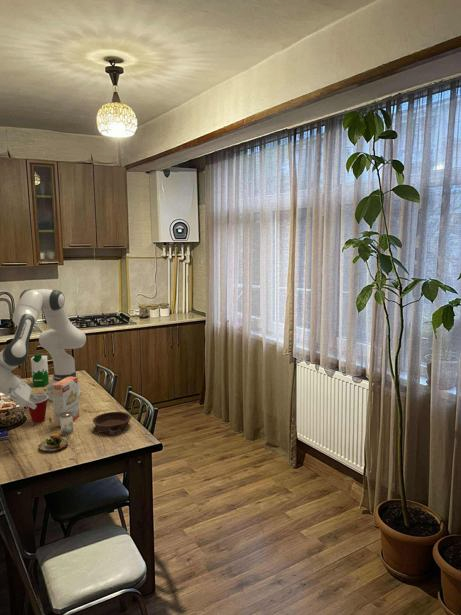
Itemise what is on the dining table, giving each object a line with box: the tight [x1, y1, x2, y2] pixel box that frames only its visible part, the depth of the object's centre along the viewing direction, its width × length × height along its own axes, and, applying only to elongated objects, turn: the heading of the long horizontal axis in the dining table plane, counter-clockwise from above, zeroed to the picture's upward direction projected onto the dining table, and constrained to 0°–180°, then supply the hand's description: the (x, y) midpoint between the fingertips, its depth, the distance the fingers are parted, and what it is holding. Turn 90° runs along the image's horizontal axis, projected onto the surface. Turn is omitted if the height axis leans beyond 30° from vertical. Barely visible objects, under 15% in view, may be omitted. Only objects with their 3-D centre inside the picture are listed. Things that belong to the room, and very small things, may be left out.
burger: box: [38, 432, 69, 452], centre depth 197 cm, size 12×12×8 cm
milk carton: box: [30, 353, 50, 388], centre depth 283 cm, size 9×9×20 cm
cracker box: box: [52, 376, 80, 428], centre depth 224 cm, size 14×6×21 cm, turn 168°
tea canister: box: [60, 412, 74, 436], centre depth 212 cm, size 6×6×9 cm
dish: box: [92, 411, 132, 435], centre depth 217 cm, size 18×22×5 cm
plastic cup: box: [27, 393, 49, 424], centre depth 226 cm, size 11×11×12 cm
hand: (36, 404), depth 207 cm, fingers open, 8 cm apart
